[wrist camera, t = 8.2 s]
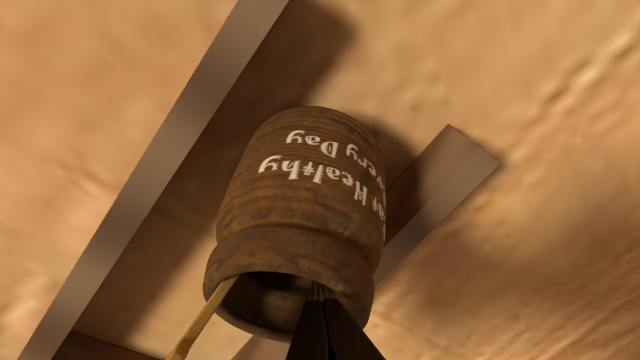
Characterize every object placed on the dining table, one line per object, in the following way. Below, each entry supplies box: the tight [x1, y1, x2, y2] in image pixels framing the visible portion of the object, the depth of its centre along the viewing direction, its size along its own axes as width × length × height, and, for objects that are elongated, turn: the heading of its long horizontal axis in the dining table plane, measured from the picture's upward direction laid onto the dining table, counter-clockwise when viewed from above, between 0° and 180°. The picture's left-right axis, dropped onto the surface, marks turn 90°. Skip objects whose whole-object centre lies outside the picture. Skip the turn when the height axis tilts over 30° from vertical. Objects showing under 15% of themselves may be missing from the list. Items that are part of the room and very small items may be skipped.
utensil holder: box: [166, 106, 386, 360], centre depth 11 cm, size 6×6×12 cm
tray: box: [17, 0, 499, 360], centre depth 17 cm, size 22×11×3 cm, turn 142°
